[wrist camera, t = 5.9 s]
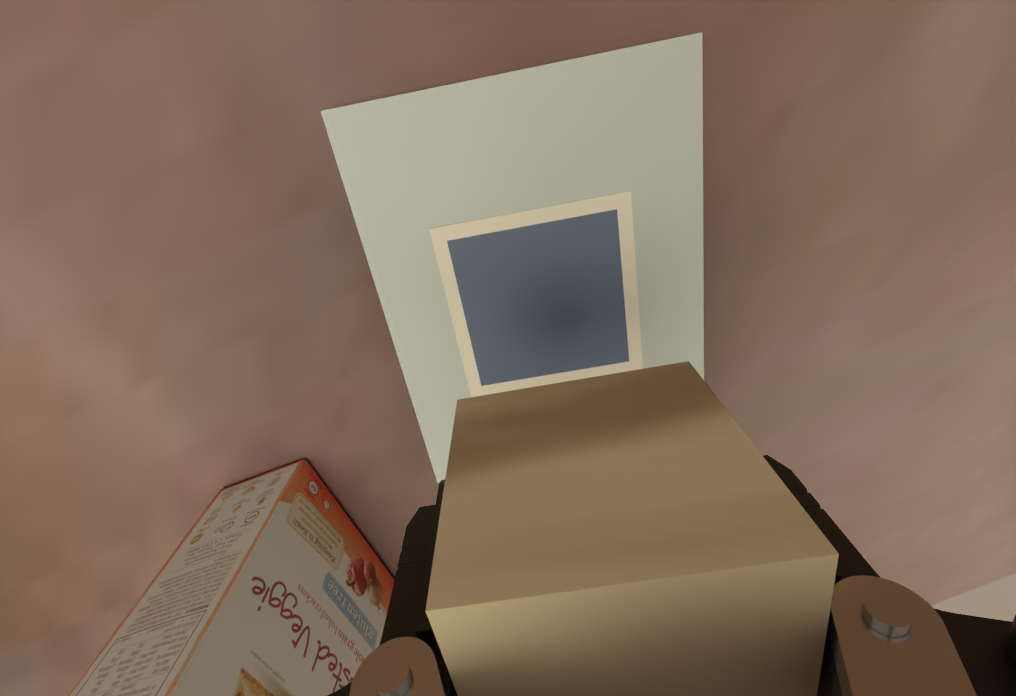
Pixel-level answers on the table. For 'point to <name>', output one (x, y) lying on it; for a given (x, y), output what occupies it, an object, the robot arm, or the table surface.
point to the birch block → (623, 547)
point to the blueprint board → (533, 223)
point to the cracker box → (253, 601)
